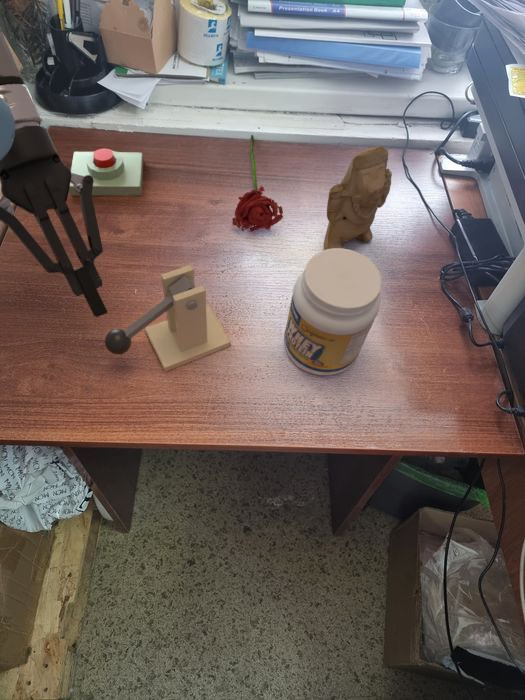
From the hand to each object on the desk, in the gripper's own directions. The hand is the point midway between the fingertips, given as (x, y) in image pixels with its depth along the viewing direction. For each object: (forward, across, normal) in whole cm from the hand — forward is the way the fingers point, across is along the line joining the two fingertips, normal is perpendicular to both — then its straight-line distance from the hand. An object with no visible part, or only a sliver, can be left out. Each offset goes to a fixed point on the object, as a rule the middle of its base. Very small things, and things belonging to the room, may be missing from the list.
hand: (100, 313), depth 68 cm
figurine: (+8, +46, +8) cm, 47 cm away
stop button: (-21, +17, +32) cm, 42 cm away
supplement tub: (+19, +28, -3) cm, 34 cm away
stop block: (-19, +17, +34) cm, 42 cm away
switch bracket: (+10, +11, +6) cm, 16 cm away
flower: (-7, +42, +22) cm, 48 cm away
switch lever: (+4, +7, +1) cm, 8 cm away
